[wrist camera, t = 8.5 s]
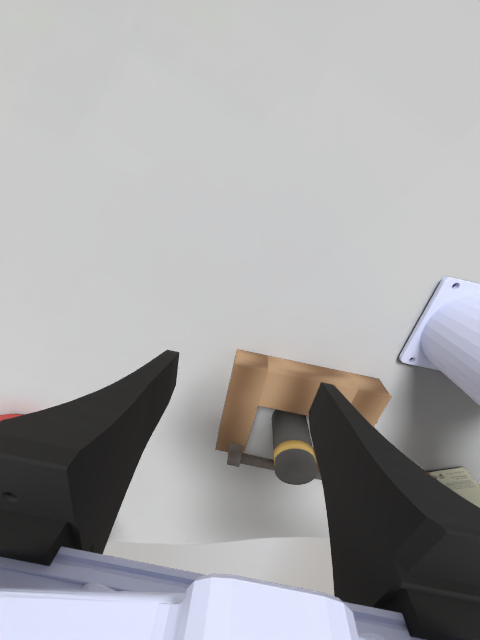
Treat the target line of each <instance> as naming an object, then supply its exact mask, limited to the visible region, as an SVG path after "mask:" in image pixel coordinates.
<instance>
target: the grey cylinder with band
mask: <svg viewBox="0 0 480 640" xmlns="http://www.w3.org/2000/svg"><path fill="white" fill-rule="evenodd" d="M272 426H273V444H274V465H275V473H276V476H277V477H278V478H279V479H280V480H281V481H283V482H285V483H288V484H293V485H301V484H305V483H308V482H310V481H312V480H313V479H314V478H315V477H316V475H317V472H318V470H317V465H316V458H315V454H314V450H313V447H312V443H311V438H310V434H309V429H308V425H307V420H306V416H305V415H301V414H296V413H292V412H287V411H282V410H277V409H276V410H275V411H274V412H273V415H272Z"/></svg>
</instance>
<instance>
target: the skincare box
mask: <svg viewBox="0 0 480 640" xmlns="http://www.w3.org/2000/svg"><path fill="white" fill-rule="evenodd" d="M428 474H430V475H431V476H432V477H434V478H435V479H437V480H438V481H439V482H441V483H442V484H444V485H445V486H447V487H448V488H450V489H451V490H453V491H454V492H456V493H457V494H459V495H460V496H462V497H463V498H465V499H466V500H468V501H470V502H471V503H473V504H474V505H476V506H478V507H479V508H480V486H479V485H478V484H477V482H476V481H475V480H474V479H473V477H472V476H471V475H470V474H469V472H468V471H467V470H466V469H465V468H464V467H461V468H454V469H447V470H440V471H433V472H428Z"/></svg>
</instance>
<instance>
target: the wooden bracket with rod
mask: <svg viewBox="0 0 480 640" xmlns="http://www.w3.org/2000/svg"><path fill="white" fill-rule="evenodd" d="M321 382H324V383H329V384H333V385H334V386H335V387H336V388H337V389H338V390H339V391H340V392H341V393H342V394H343V395H344V396H345V397H346V399H347V400H348V401H349V402H350V403H351V404H352V405H353V406H354V407H355V408H356V409H357V411H358V412H359V413H360V414H361V415H362V416H363V417H364V418H365V419H366V420H367V421H368V422H369V423H370V424H371V425H372V426H373V427H374V426H375V424H376V422H377V421H378V419H379V417H380V415H381V414H382V412H383V410H384V409H385V407H386V405H387V404H388V402H389V400H390V398H391V396H390V394H389V393H388V391H387V390H386V388H385V387H384V386H383V384H382V383H381V381H380V380H379V379H377V378H372V377H367V376H362V375H358V374H353V373H348V372H343V371H338V370H334V369H329V368H324V367H319V366H315V365H310V364H305V363H300V362H295V361H291V360H286V359H281V358H276V357H272V356H267V355H262V354H257V353H252V352H248V351H243V350H238V349H237V352H236V356H235V361H234V365H233V370H232V374H231V379H230V383H229V388H228V392H227V396H226V401H225V405H224V410H223V414H222V419H221V423H220V428H219V433H218V438H217V443H216V449H215V450H220V451H225V452H229V453H228V460H227V464H228V465H233V466H238V467H239V464H240V463H241V464H246V465H251V466H256V467H260V468H265V469H270V470H275V465H274V460H272V459H268V458H263V457H258V456H253V455H248V454H244V451H245V448H246V444H247V441H248V438H249V434H250V431H251V428H252V424H253V421H254V418H255V415H256V411H257V408H258V406H263V407H267V408H272V409H277V410H282V411H287V412H292V413H296V414H301V415H306V416H309V413H308V412H309V410H310V407H311V405H312V403H313V400H314V398H315V395H316V393H317V391H318V388H319V386H320V383H321ZM313 450H314V448H313ZM314 454H315V450H314ZM315 458H316V454H315ZM316 465H317V470H318V472H317V475H316V477H315V479H320V480H322V479H321V474H320V470H319V466H318V462H317V458H316Z"/></svg>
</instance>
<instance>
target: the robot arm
mask: <svg viewBox="0 0 480 640" xmlns="http://www.w3.org/2000/svg"><path fill="white" fill-rule="evenodd" d="M454 283H456V285H455V286H454V287H453V288H452V285H453V284H454ZM410 358H413V359H411V360H409V359H410ZM399 359H400V360H401V362H403V363H406V364H411V365H415V366H420V367H425V368H430V369H434V370H439V371H441V372H442V373H444V374H445V375H446V376H447V377H448V378H449V379H450V380H451V381H453V382H454V383H455V384H456V385H457V386H458V387H459V388H460V389H461V390H463V391H464V392H465V393H466V394H467V395H468V396H469V397H470V398H471V399H473V400H474V401H475V402H476V403H477V404H478V405H479V406H480V284H479V283H474V282H469V281H465V280H460V279H456V278H451V277H447V278H444V279H443V280H442V281H441V282H440V284H439V286H438V287H437V289H436V291H435V293H434V295H433V296H432V298H431V300H430V302H429V304H428V305H427V307H426V309H425V311H424V313H423V314H422V316H421V318H420V320H419V322H418V323H417V325H416V327H415V329H414V331H413V332H412V334H411V336H410V338H409V340H408V341H407V343H406V345H405V347H404V349H403V350H402V352H401V354H400V356H399ZM178 360H179V352H175V351H170V350H166V351H165V352H163V353H162V354H160V355H159V356H157V357H156V358H155V359H153V360H152V361H150V362H149V363H147V364H146V365H144V366H143V367H141V368H139V369H138V370H136V371H135V372H133V373H131V374H130V375H128V376H126V377H124V378H123V379H121V380H119V381H117V382H115V383H113V384H111V385H109V386H107V387H105V388H103V389H101V390H98V391H96V392H93V393H91V394H88V395H86V396H83V397H81V398H78V399H76V400H73V401H70V402H67V403H64V404H61V405H58V406H55V407H51V408H48V409H45V410H41V411H38V412H34V413H30V414H26V415H22V416H18V417H14V418H9V419H5V420H2V421H0V640H480V508H479V507H478V506H476V505H474V504H473V503H471V502H470V501H468V500H466V499H465V498H463V497H462V496H460V495H459V494H457V493H456V492H454V491H453V490H451V489H450V488H448V487H447V486H445V485H444V484H442V483H441V482H439V481H438V480H437V479H435V478H434V477H432V476H431V475H430V474H428V473H427V472H426V471H424V470H423V469H422V468H420V467H419V466H418V465H417V464H415V463H414V462H413V461H411V460H410V459H409V458H408V457H406V456H405V455H404V454H403V453H402V452H400V451H399V450H398V449H397V448H396V447H395V446H393V445H392V444H391V443H390V442H389V441H388V440H387V439H386V438H384V437H383V436H382V435H381V434H380V433H379V432H378V431H377V430H376V429H375V428H374V427H373V426H372V425H371V424H370V423H369V422H368V421H367V420H366V419H365V418H364V417H363V416H362V415H361V414H360V413H359V412H358V411H357V409H356V408H355V407H354V406H353V405H352V404H351V403H350V402H349V401H348V400H347V399H346V397H345V396H344V395H343V394H342V393H341V392H340V391H339V390H338V389H337V388H336V387H335V386H334V385H333V384H329V383H324V382H321V383H320V386H319V388H318V391H317V393H316V395H315V398H314V400H313V403H312V405H311V407H310V410H309V412H308V413H309V424H310V432H311V437H312V441H313V446H314V450H315V454H316V458H317V462H318V466H319V470H320V474H321V479H322V484H323V489H324V496H325V503H326V510H327V518H328V527H329V535H330V545H331V556H332V565H333V579H334V595H335V597H334V596H331V595H328V594H326V593H323V592H318V591H313V590H308V589H303V588H297V587H292V586H287V585H282V584H277V583H272V582H267V581H261V580H257V579H251V578H247V577H241V576H236V575H228V574H210V575H204V574H199V573H194V572H189V571H184V570H179V569H174V568H169V567H163V566H158V565H153V564H148V563H143V562H138V561H133V560H127V559H123V558H117V557H112V556H107V555H102V554H103V551H104V548H105V546H106V543H107V541H108V538H109V535H110V533H111V530H112V527H113V525H114V522H115V519H116V517H117V514H118V512H119V509H120V507H121V504H122V502H123V499H124V496H125V494H126V492H127V489H128V487H129V484H130V482H131V479H132V477H133V474H134V472H135V470H136V467H137V465H138V462H139V460H140V458H141V455H142V453H143V451H144V449H145V447H146V445H147V443H148V441H149V439H150V437H151V435H152V433H153V431H154V430H155V428H156V426H157V424H158V422H159V420H160V418H161V417H162V415H163V413H164V411H165V409H166V407H167V405H168V403H169V401H170V399H171V396H172V394H173V391H174V388H175V386H176V378H177V369H178Z"/></svg>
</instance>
